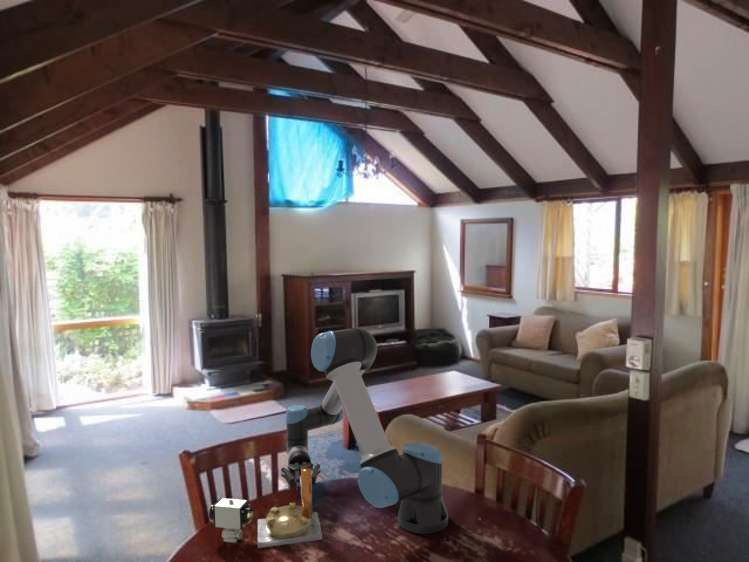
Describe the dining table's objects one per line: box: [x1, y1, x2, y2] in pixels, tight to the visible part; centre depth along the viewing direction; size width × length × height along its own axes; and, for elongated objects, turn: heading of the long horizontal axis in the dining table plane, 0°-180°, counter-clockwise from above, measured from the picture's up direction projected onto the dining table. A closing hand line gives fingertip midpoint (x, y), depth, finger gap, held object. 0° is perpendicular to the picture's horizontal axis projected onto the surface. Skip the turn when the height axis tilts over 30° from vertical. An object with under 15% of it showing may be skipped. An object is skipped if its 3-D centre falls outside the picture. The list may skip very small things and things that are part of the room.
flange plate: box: [257, 511, 323, 549], centre depth 153 cm, size 18×13×2 cm
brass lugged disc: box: [266, 468, 313, 538], centre depth 152 cm, size 14×13×17 cm
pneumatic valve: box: [208, 497, 255, 544], centre depth 149 cm, size 6×12×12 cm, turn 78°
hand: (304, 493), depth 154 cm, fingers closed
